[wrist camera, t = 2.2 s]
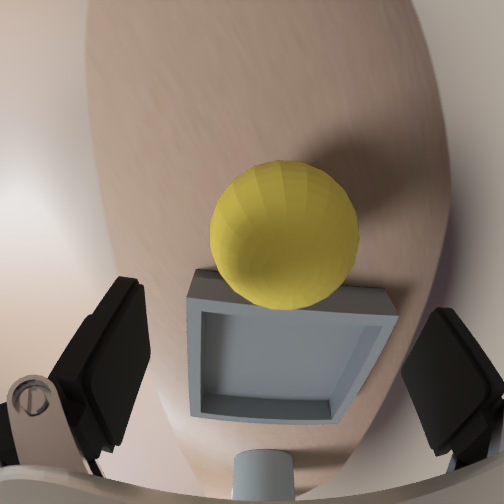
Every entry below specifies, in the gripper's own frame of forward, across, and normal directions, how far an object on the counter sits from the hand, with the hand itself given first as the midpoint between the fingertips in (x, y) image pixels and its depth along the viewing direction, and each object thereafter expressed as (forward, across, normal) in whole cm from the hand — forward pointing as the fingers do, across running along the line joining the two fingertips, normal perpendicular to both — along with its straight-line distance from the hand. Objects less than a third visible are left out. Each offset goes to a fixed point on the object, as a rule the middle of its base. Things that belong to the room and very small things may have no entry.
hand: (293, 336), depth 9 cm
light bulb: (+12, 0, -1) cm, 13 cm away
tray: (+13, -2, +13) cm, 18 cm away
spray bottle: (+14, -5, +39) cm, 41 cm away
